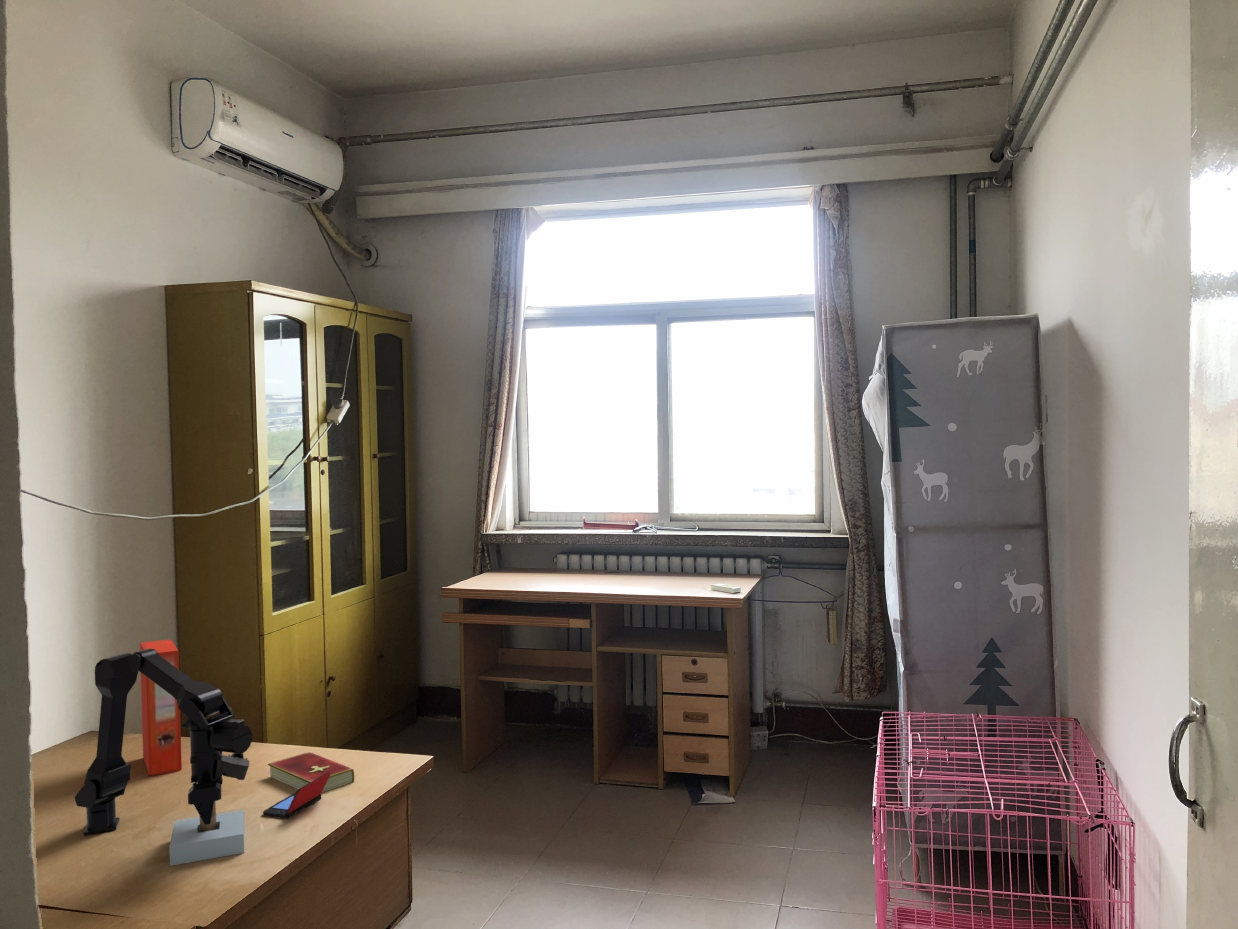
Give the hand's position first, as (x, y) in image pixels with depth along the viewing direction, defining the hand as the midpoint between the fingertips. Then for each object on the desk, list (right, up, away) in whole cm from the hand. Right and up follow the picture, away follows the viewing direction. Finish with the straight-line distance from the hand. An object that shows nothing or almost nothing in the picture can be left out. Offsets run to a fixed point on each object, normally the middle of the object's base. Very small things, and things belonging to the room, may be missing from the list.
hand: (208, 821), depth 196 cm
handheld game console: (+12, -5, +20) cm, 24 cm away
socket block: (0, -5, 0) cm, 5 cm away
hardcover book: (+9, -5, +38) cm, 39 cm away
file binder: (-36, -5, +52) cm, 64 cm away
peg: (0, -3, 0) cm, 2 cm away
